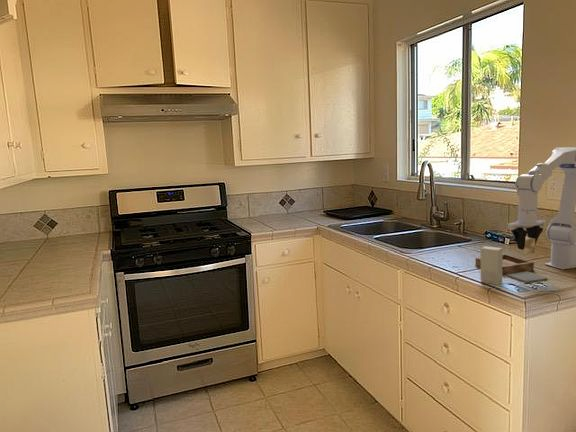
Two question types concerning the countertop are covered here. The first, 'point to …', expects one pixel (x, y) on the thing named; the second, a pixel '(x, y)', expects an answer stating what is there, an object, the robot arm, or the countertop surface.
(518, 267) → the slot box
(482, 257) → the skincare box
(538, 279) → the mat
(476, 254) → the countertop surface
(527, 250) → the maple block
